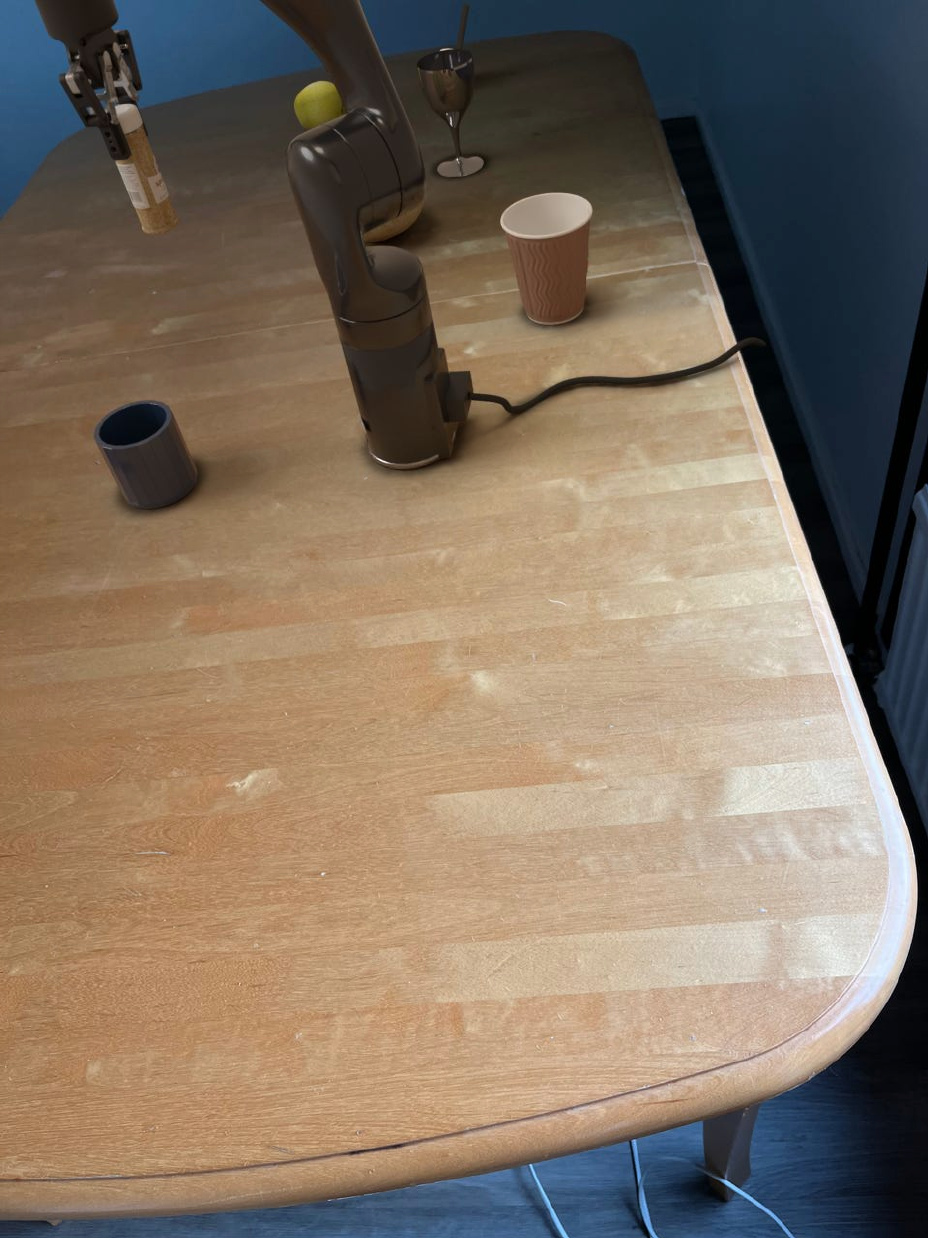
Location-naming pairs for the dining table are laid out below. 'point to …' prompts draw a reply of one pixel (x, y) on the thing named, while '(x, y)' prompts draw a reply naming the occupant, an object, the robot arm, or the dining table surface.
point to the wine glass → (450, 100)
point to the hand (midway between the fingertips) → (131, 147)
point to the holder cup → (146, 454)
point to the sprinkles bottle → (144, 176)
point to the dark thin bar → (462, 26)
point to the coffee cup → (550, 254)
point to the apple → (318, 104)
